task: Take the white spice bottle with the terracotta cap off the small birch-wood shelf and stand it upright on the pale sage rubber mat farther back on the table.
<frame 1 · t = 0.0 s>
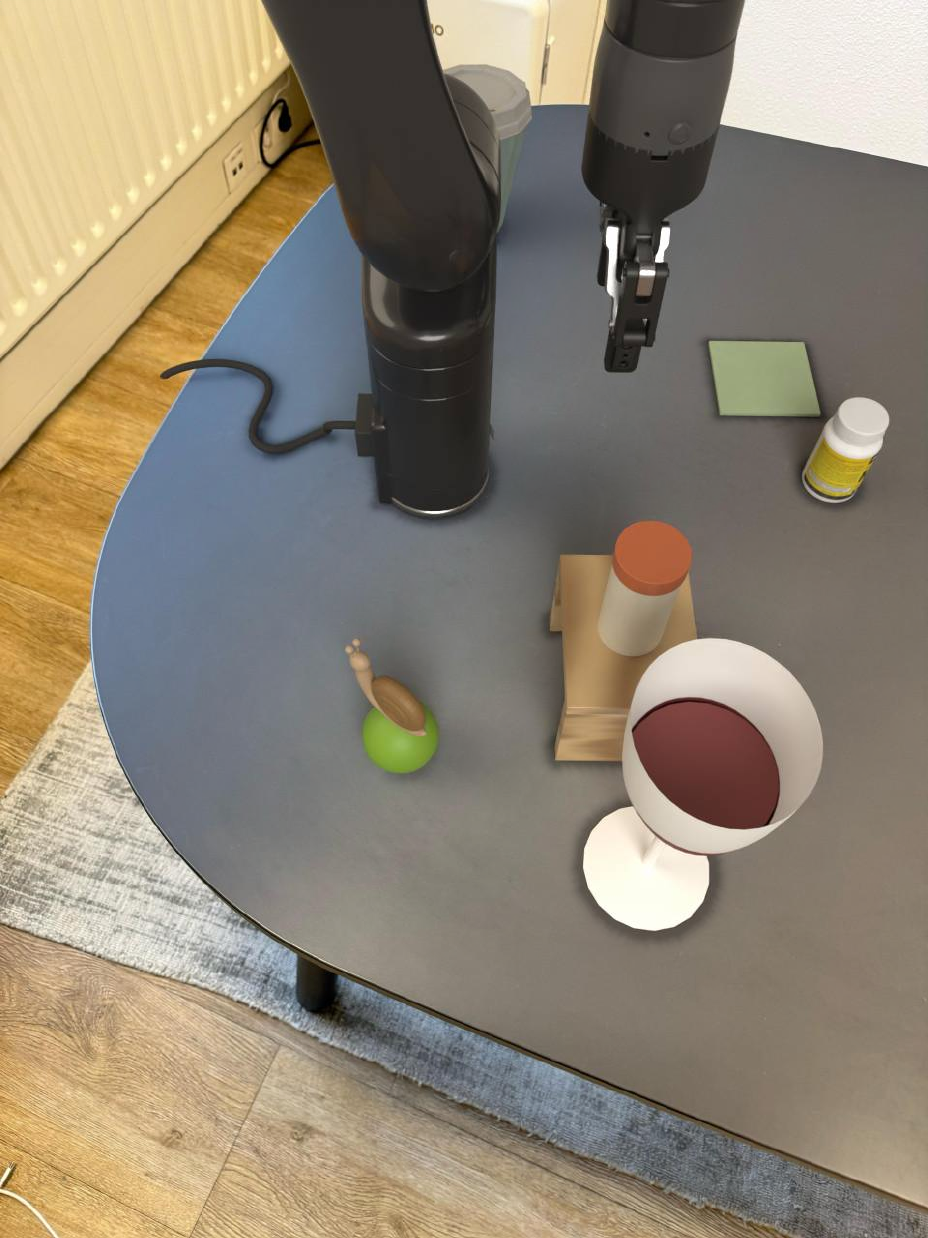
hand: (615, 324, 69), 17 cm above the table, tool pointing down, fingers open, 8 cm apart
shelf: (611, 687, 73), on the table
supplement bottle: (827, 483, 84), on the table
spice bottle: (629, 628, 66), point 9 cm above the table, touching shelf
disposable coffee cup: (472, 227, 100), on the table
snail figurine: (397, 746, 71), on the table
wineglass: (645, 866, 67), on the table
mat: (762, 379, 90), on the table
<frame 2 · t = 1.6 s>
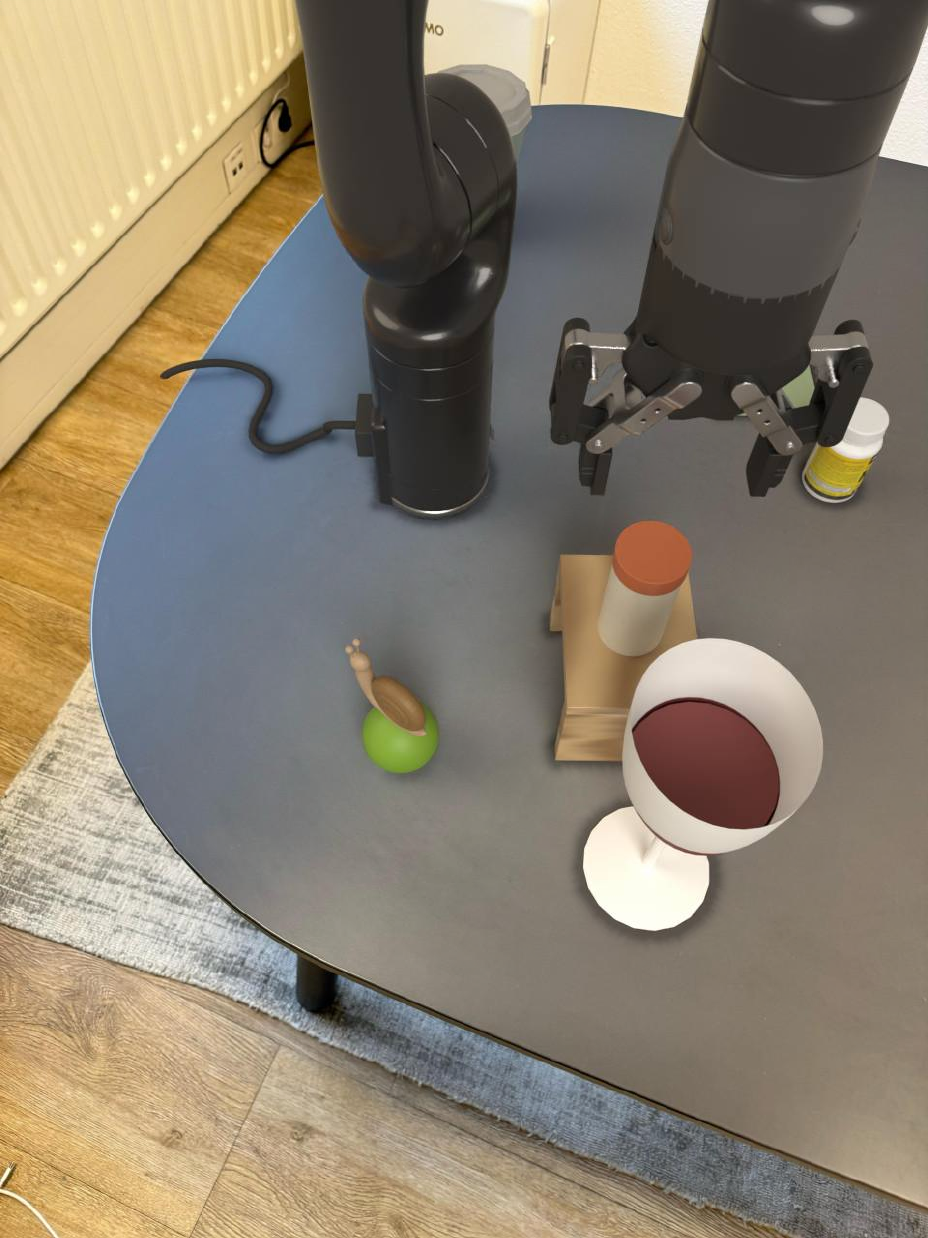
hand: (674, 483, 52), 25 cm above the table, tool pointing down, fingers open, 8 cm apart
nothing on the table moved.
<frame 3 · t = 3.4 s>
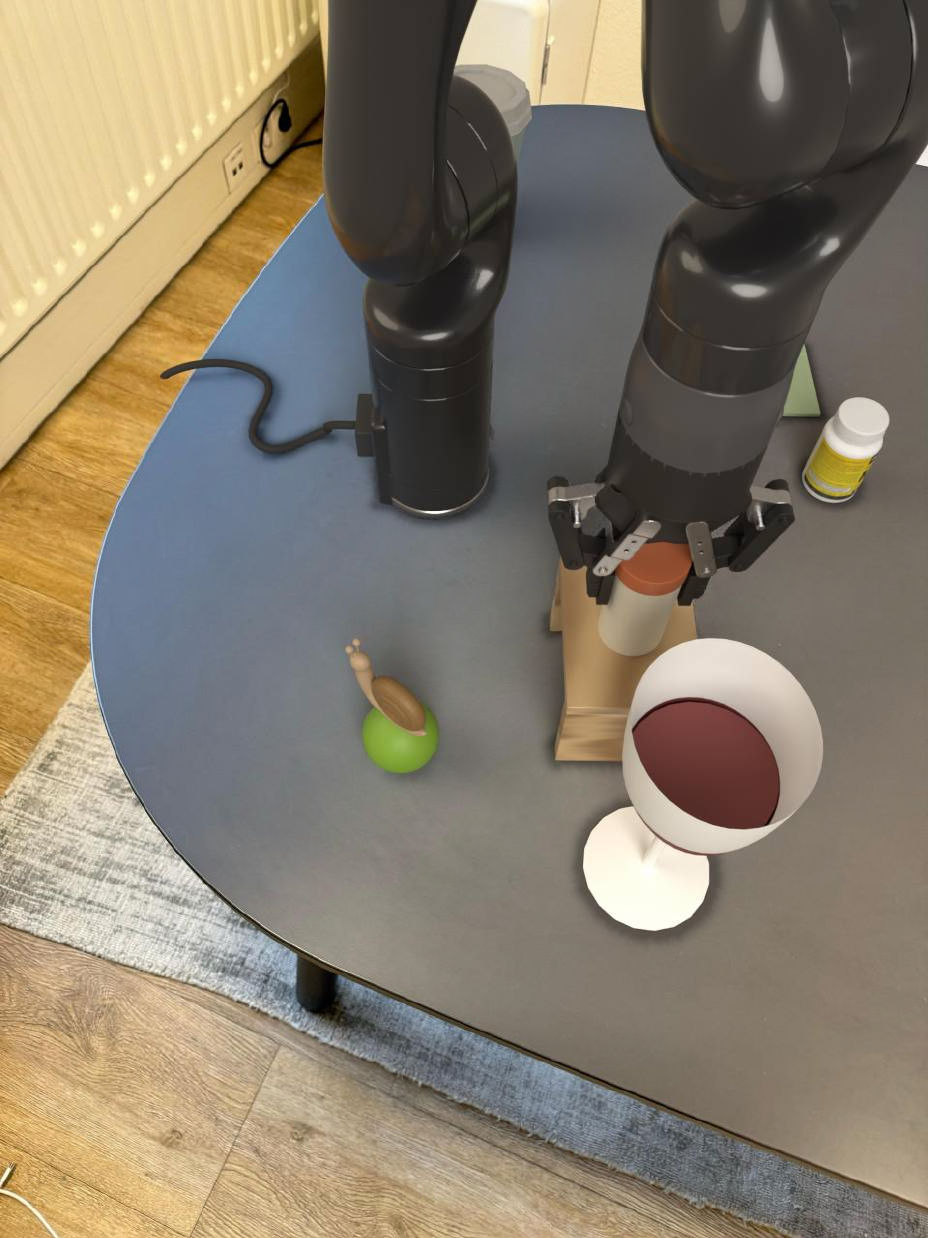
hand: (641, 592, 62), 14 cm above the table, tool pointing down, fingers closed on spice bottle, 4 cm apart
spice bottle: (629, 628, 66), point 9 cm above the table, touching gripper, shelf
everything else where it was.
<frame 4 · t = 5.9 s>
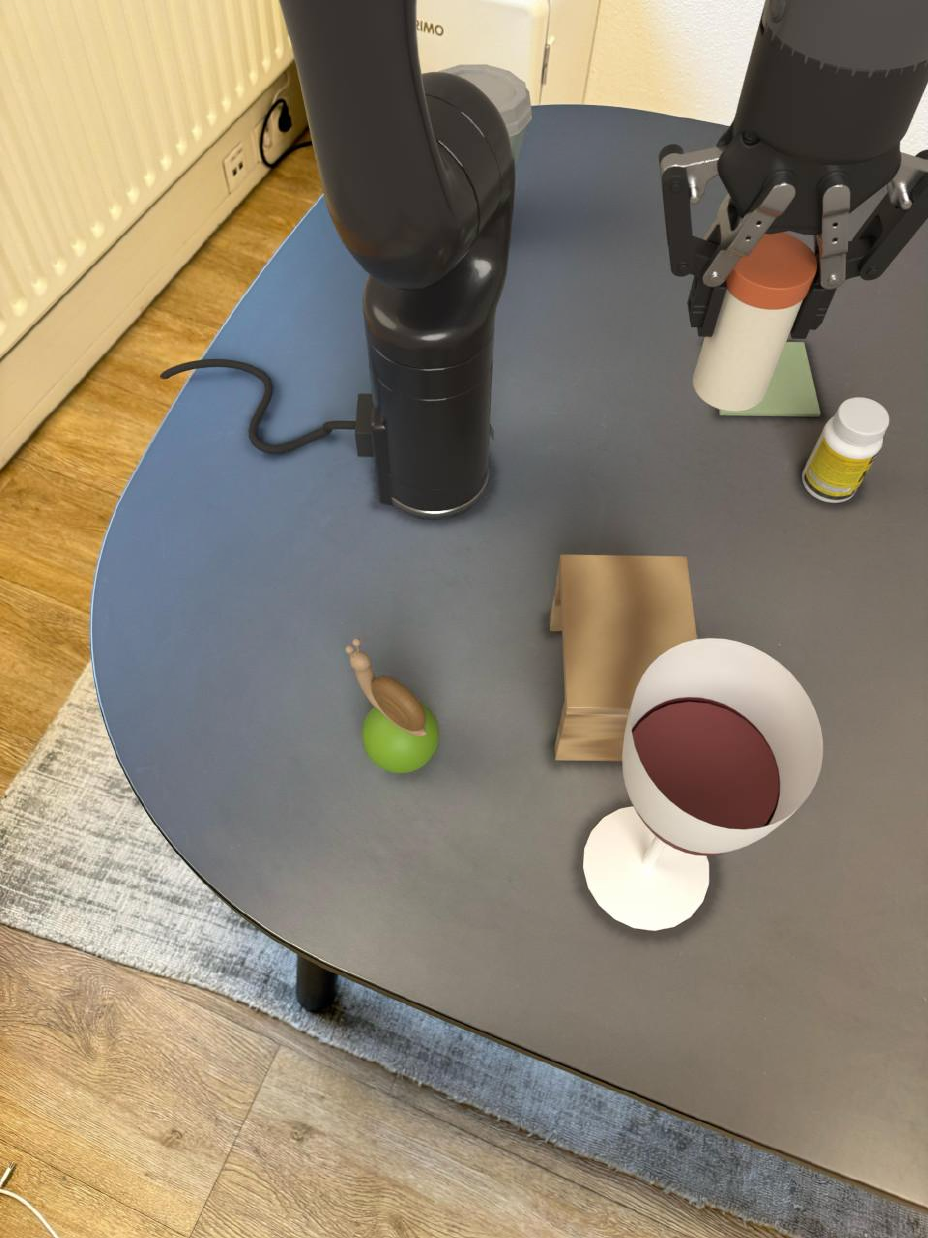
hand: (748, 326, 55), 27 cm above the table, tool pointing down, fingers closed on spice bottle, 4 cm apart
spice bottle: (729, 384, 58), point 23 cm above the table, touching gripper
everything else where it was.
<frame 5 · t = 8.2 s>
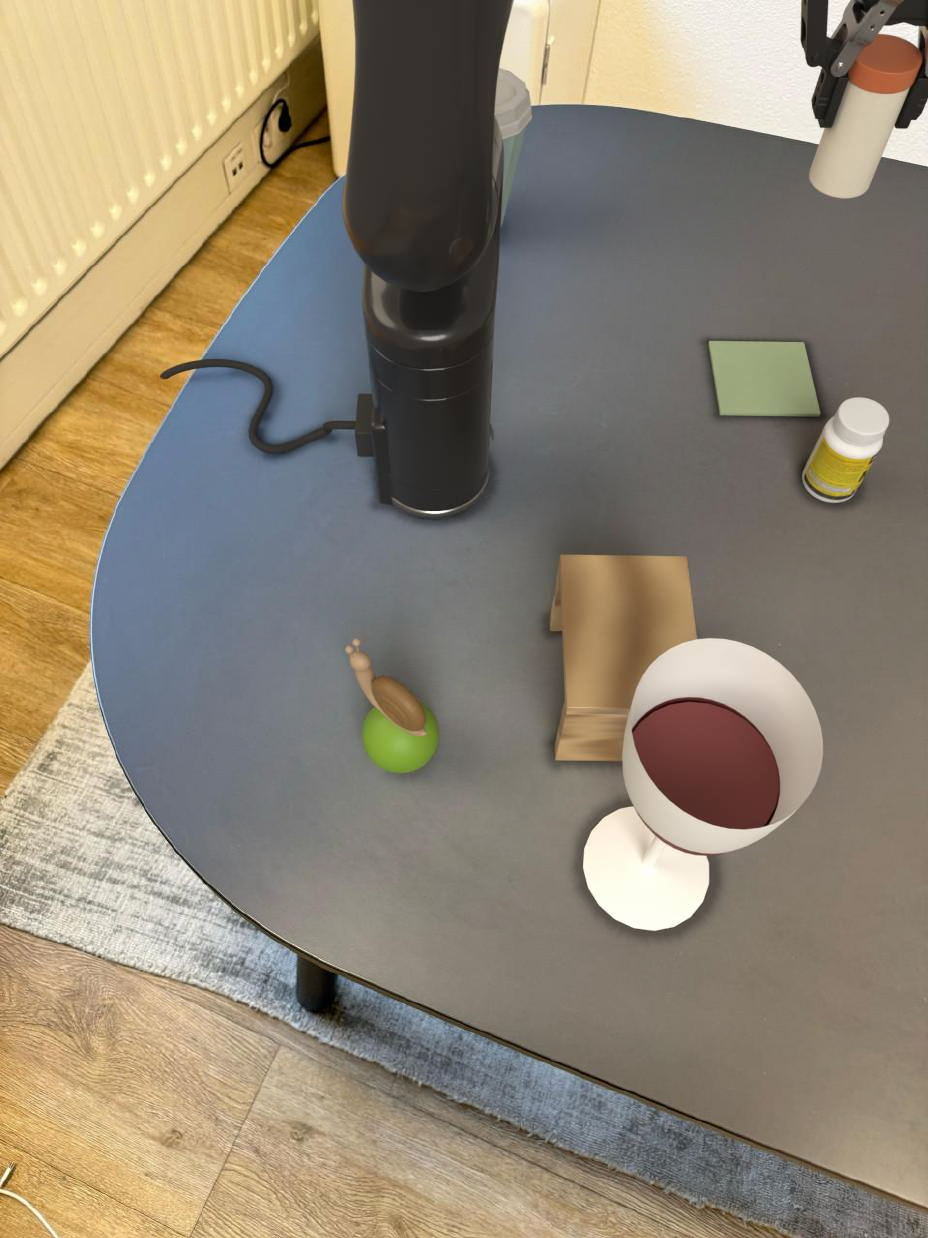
hand: (860, 120, 67), 26 cm above the table, tool pointing down, fingers closed on spice bottle, 4 cm apart
spice bottle: (838, 179, 71), point 21 cm above the table, touching gripper
everything else where it was.
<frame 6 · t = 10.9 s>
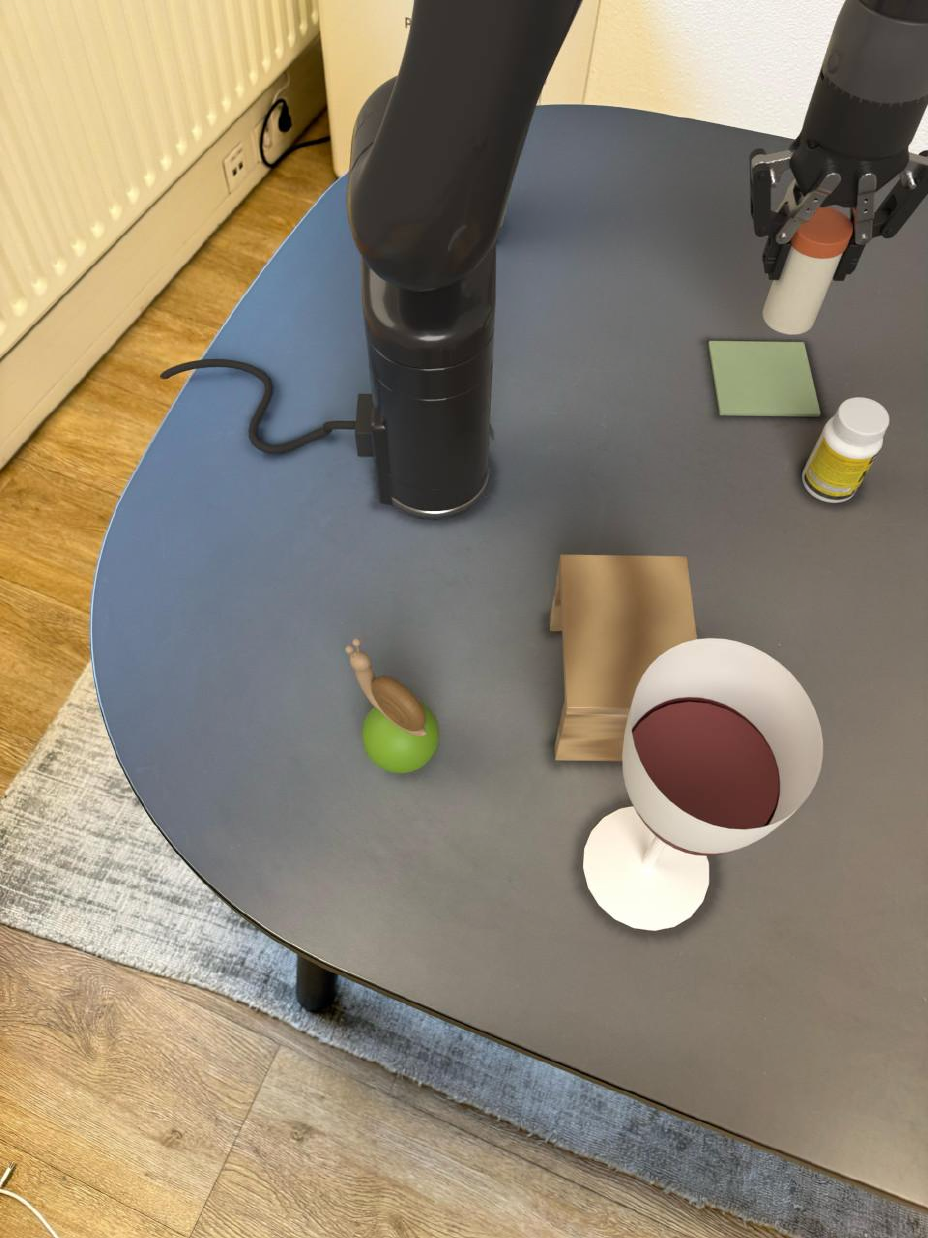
hand: (804, 272, 79), 12 cm above the table, tool pointing down, fingers closed on spice bottle, 4 cm apart
spice bottle: (788, 316, 83), point 8 cm above the table, touching gripper
everything else where it was.
when the fingers open (5 cm above the table, at t = 13.0 s): spice bottle stays where it is, resting on mat.
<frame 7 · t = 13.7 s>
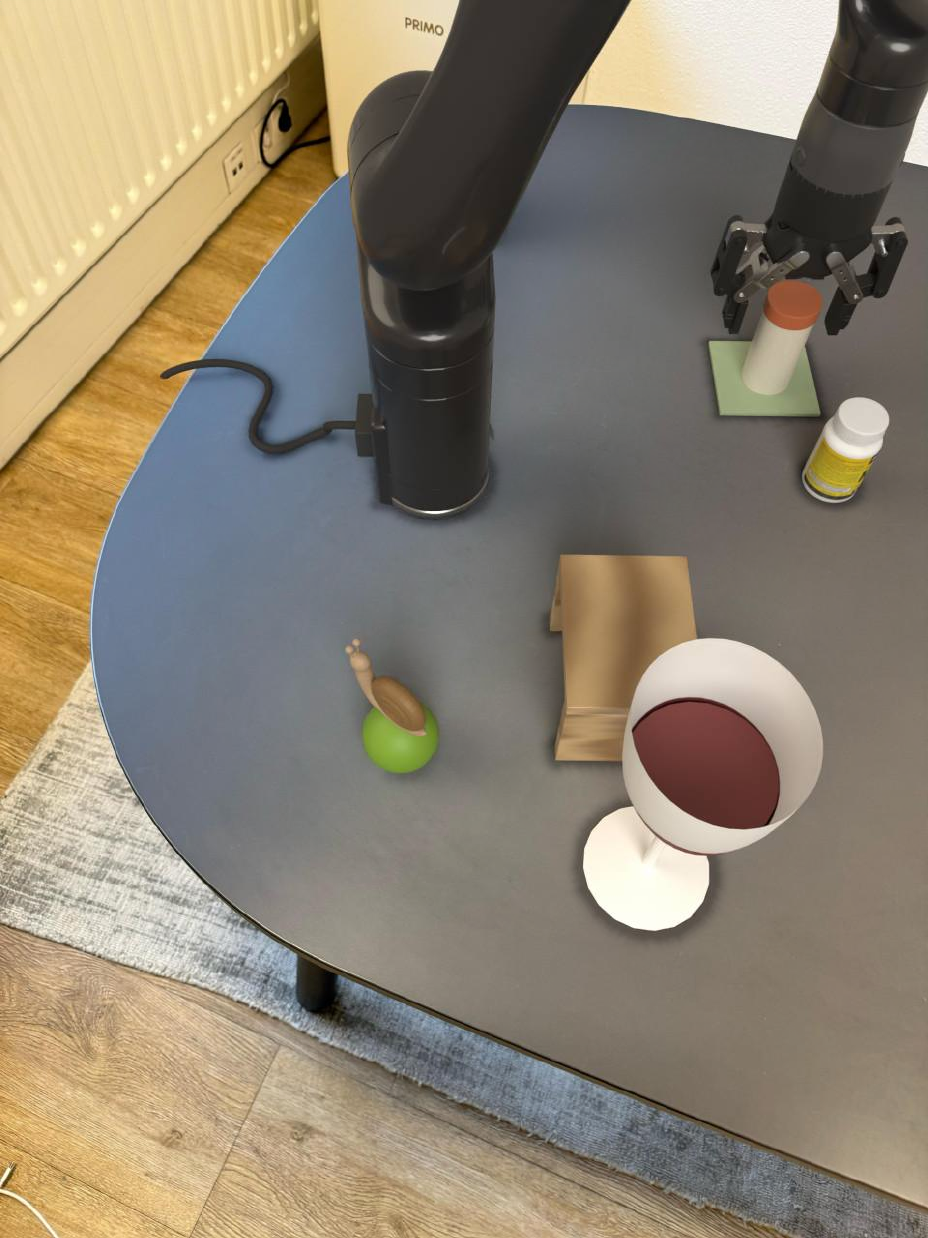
hand: (780, 328, 84), 6 cm above the table, tool pointing down, fingers open, 8 cm apart
spice bottle: (765, 377, 89), resting on mat
everything else where it was.
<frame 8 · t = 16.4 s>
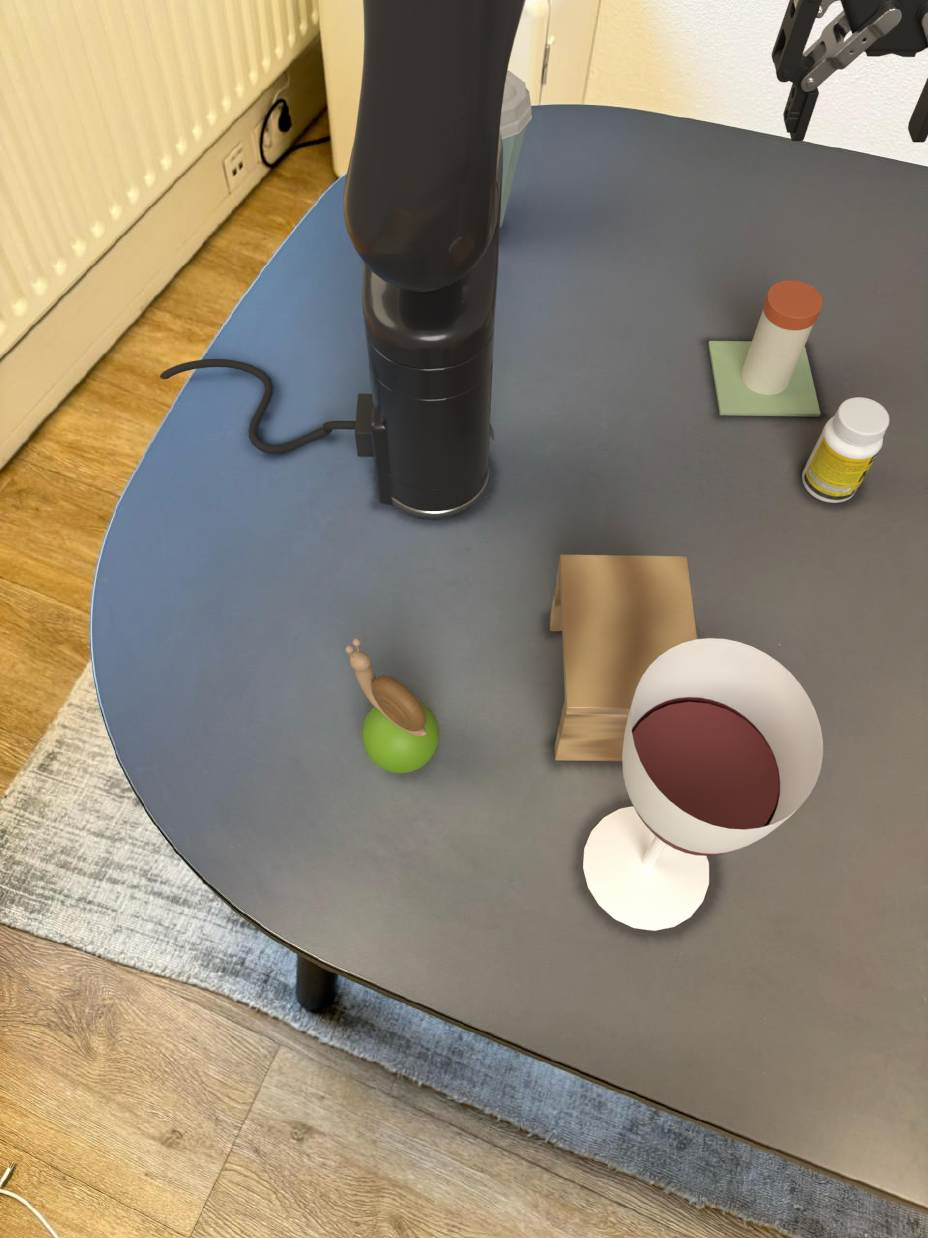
hand: (854, 135, 69), 24 cm above the table, tool pointing down, fingers open, 8 cm apart
nothing on the table moved.
at the end: spice bottle 0.2 cm off-centre on the mat, point 0.4 cm above the mat's base; spice bottle tilted 0°; the gripper is holding nothing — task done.
